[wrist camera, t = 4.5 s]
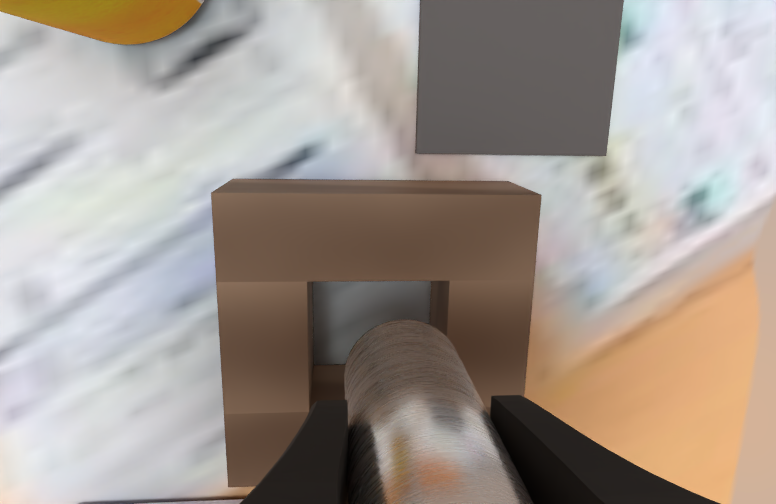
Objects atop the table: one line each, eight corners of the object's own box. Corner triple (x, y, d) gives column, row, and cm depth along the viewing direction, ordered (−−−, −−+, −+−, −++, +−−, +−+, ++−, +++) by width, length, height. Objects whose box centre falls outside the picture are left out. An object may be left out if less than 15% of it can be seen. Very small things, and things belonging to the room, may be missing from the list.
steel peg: (455, 426, 15) (625, 869, 6) (342, 427, 15) (350, 893, 6) (464, 320, 14) (670, 647, 5) (346, 318, 14) (360, 662, 5)
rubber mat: (602, 155, 21) (606, 155, 20) (415, 152, 20) (416, 153, 20) (629, -86, 19) (633, -88, 18) (422, -96, 18) (424, -100, 18)
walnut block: (491, 422, 23) (516, 476, 20) (245, 430, 22) (228, 487, 19) (508, 181, 21) (541, 195, 17) (233, 178, 20) (211, 192, 16)
